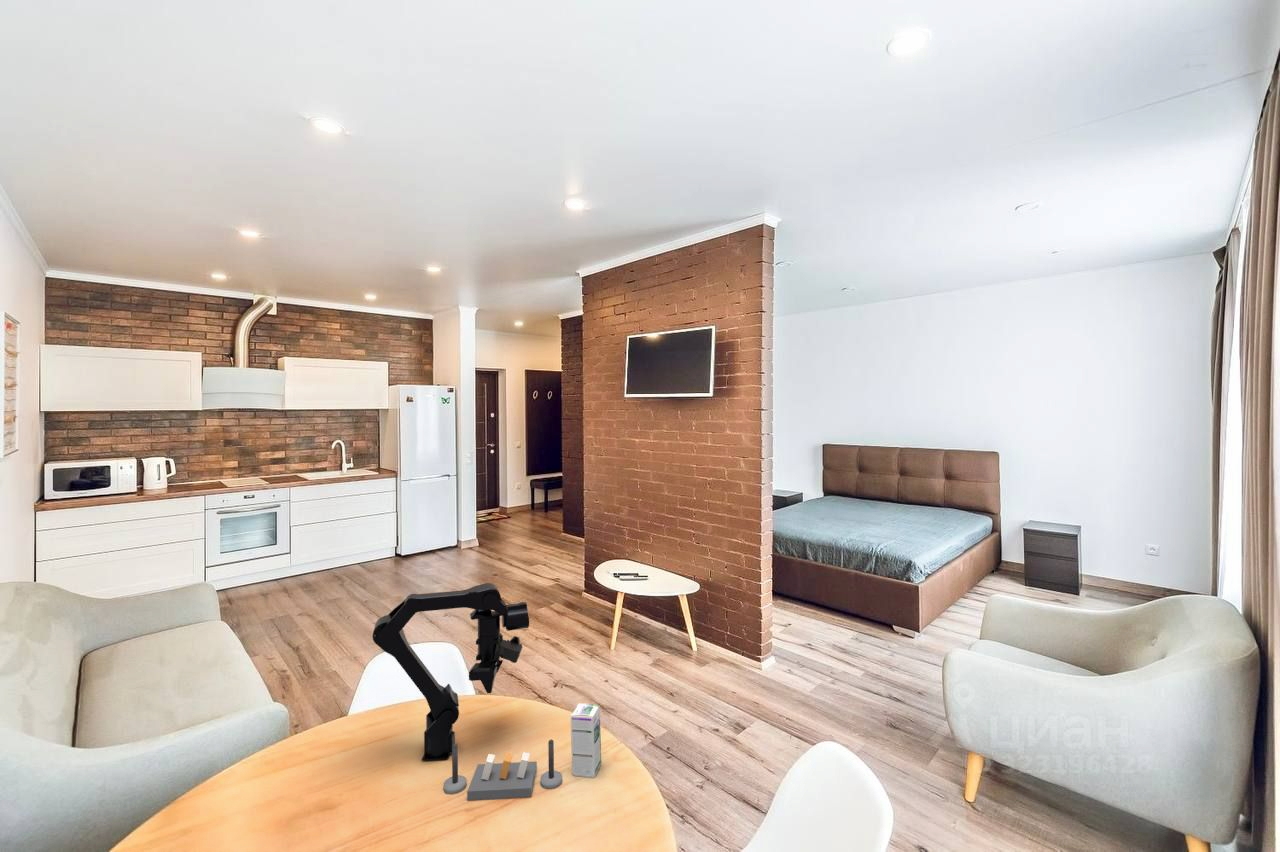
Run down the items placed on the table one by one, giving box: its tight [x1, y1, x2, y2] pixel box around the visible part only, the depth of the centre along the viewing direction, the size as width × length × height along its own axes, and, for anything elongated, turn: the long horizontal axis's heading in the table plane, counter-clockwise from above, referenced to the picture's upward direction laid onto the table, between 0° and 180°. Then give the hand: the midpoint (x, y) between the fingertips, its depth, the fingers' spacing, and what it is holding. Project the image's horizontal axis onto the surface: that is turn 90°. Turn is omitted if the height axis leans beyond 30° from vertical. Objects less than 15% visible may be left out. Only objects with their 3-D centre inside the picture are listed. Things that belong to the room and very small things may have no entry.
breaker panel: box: [466, 760, 538, 802], centre depth 125 cm, size 14×10×2 cm
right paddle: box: [517, 751, 531, 778], centre depth 126 cm, size 2×3×4 cm, turn 3°
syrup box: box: [570, 703, 602, 779], centre depth 131 cm, size 6×6×14 cm
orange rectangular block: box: [499, 752, 513, 779], centre depth 125 cm, size 2×3×4 cm, turn 3°
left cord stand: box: [443, 743, 468, 795], centre depth 125 cm, size 5×5×10 cm
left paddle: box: [481, 753, 496, 780], centre depth 125 cm, size 2×3×4 cm, turn 3°
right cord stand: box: [539, 738, 563, 790], centre depth 126 cm, size 5×5×10 cm
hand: (489, 692), depth 143 cm, fingers closed
